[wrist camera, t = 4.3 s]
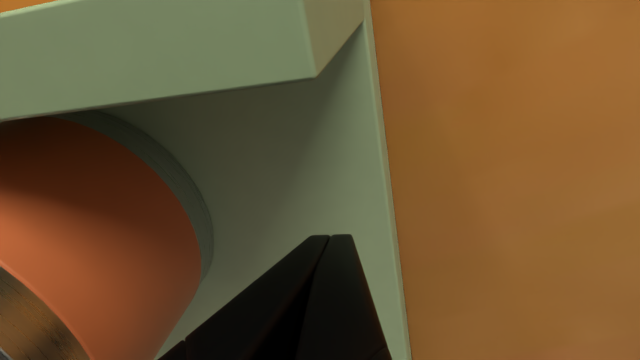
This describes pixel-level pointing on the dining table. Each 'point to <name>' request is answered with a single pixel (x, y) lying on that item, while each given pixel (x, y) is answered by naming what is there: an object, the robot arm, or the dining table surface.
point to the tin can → (94, 239)
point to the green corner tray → (233, 122)
